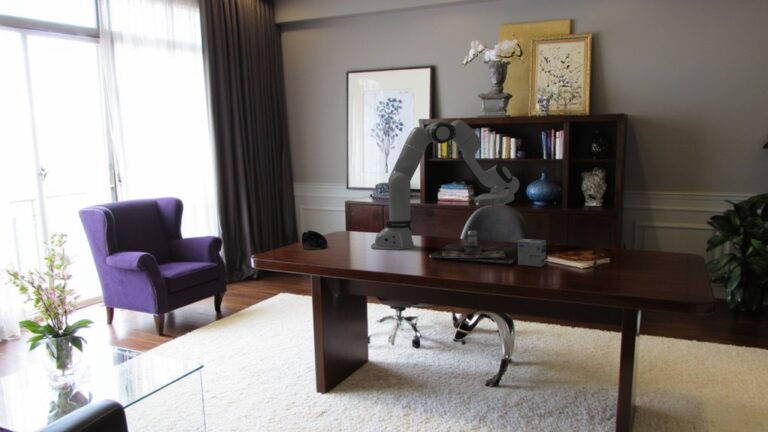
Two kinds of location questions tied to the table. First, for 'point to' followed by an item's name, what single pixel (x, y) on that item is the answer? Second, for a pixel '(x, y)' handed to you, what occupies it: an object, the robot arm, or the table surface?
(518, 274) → the table surface
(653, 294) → the table surface
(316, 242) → the crystal cluster
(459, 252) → the shaft frame
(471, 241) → the coupling sleeve
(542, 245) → the light bulb box
